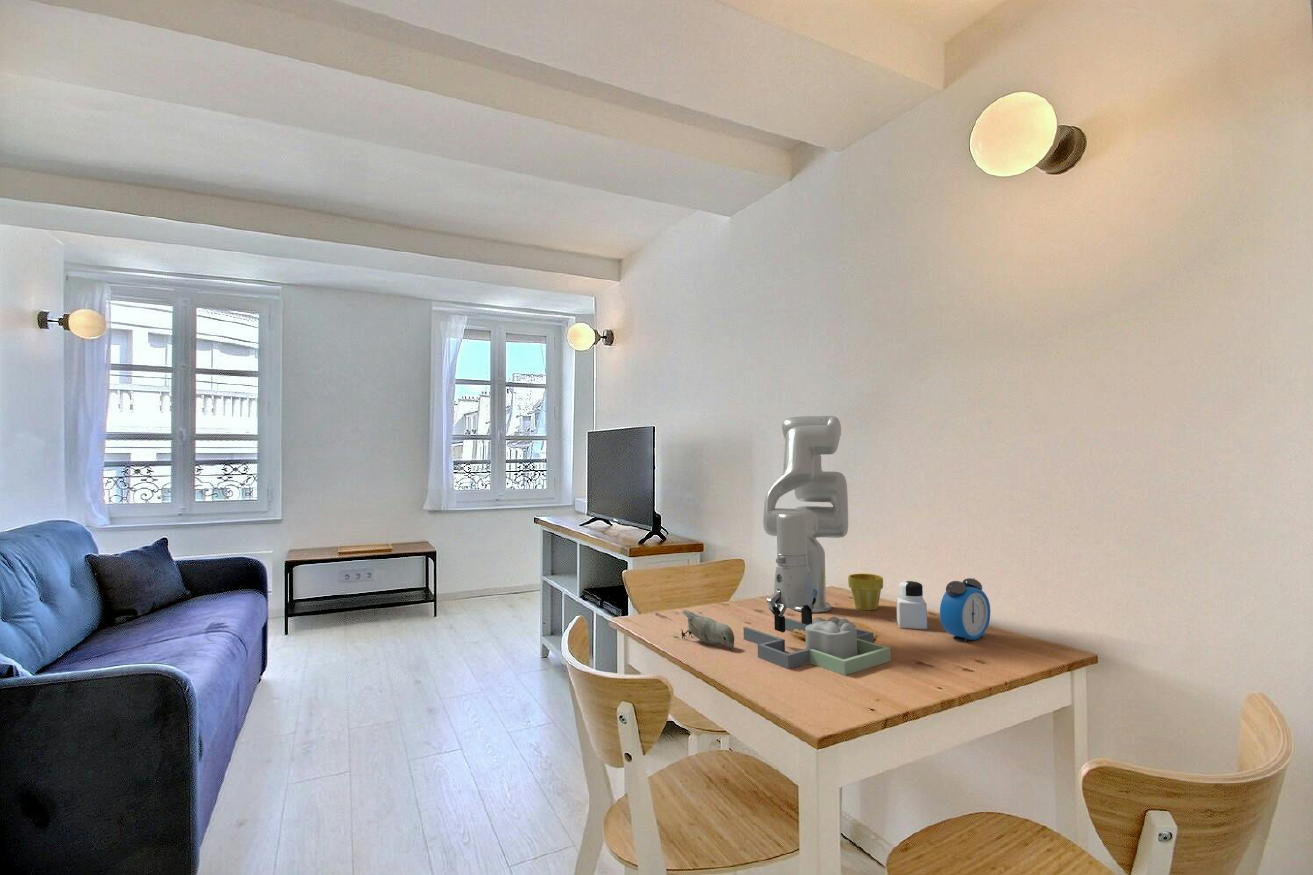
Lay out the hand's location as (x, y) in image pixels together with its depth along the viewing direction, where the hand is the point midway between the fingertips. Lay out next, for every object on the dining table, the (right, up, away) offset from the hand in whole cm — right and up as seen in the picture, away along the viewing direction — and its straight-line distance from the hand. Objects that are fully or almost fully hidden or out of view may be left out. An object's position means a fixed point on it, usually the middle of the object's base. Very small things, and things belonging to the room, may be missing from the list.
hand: (793, 627), depth 160 cm
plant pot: (+30, -4, +34) cm, 46 cm away
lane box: (+4, -4, -6) cm, 8 cm away
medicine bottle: (+36, -4, +14) cm, 39 cm away
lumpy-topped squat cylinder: (+7, -4, -11) cm, 14 cm away
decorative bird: (-22, -5, 0) cm, 22 cm away
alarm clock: (+45, -3, +2) cm, 45 cm away
